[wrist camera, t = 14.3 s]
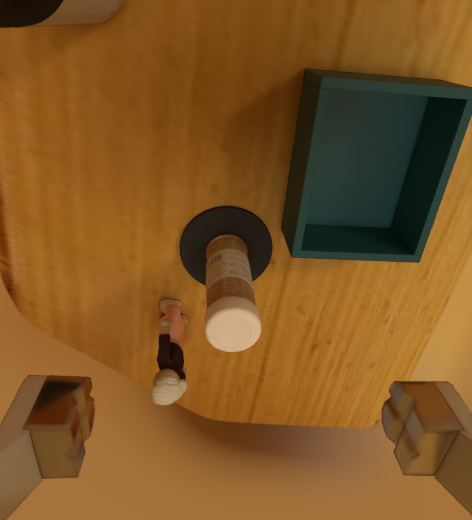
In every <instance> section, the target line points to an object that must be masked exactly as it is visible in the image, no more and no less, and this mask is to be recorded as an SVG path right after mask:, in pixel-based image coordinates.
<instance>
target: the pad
mask: <svg viewBox="0 0 472 520" xmlns="http://www.w3.org/2000/svg"><path fill="white" fill-rule="evenodd" d="M224 234H232V235H235V236H237V237H239V238H241V239H242V240H243V241H244V243H245V244H246V246H247V251H248V255H247V257H248V261H249V265H250V271H251V276H252V281H254V280H255V279H256V278H258V277H259V276H260V275H261V274H262V273H263V272H264V270H265V269H266V268H267V266H268V264H269V262H270V259H271V255H272V240H271V236H270V233H269V231H268V229H267V227H266V225H265V224H264V223H263V222H262V221H261V220H260V219H259V218H258V217H257V216H256V215H254V214H253V213H251V212H249V211H247V210H244V209H242V208H238V207H231V206H223V207H216V208H212V209H209V210H207V211H204V212H202V213H201V214H199V215H198V216H196V217H195V218H194V219H193V220H192V221H191V222H190V223H189V224H188V225H187V227H186V228H185V230H184V232H183V235H182V237H181V242H180V256H181V260H182V263H183V265H184V267H185V269H186V270H187V271H188V273H189V274H190V275H191V276H192V277H193V278H194V279H196V280H197V281H199V282H200V283H202V284H204V285H206V264H207V258H206V249H207V246H208V244H209V243H210V241H211V240H213V239H214V238H215V237H217V236H219V235H224Z"/></svg>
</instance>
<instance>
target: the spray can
mask: <svg viewBox="0 0 472 520" xmlns="http://www.w3.org/2000/svg"><path fill="white" fill-rule="evenodd" d="M123 1H124V0H0V28H9V27H16V28H17V27H39V26H61V25H83V24H96V23H101V22H104V21H106V20H108V19H110V18H111V17H112V16H113V15H115V14H116V12H117V11H118V10H119V9H120V7H121V5H122V3H123Z"/></svg>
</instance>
